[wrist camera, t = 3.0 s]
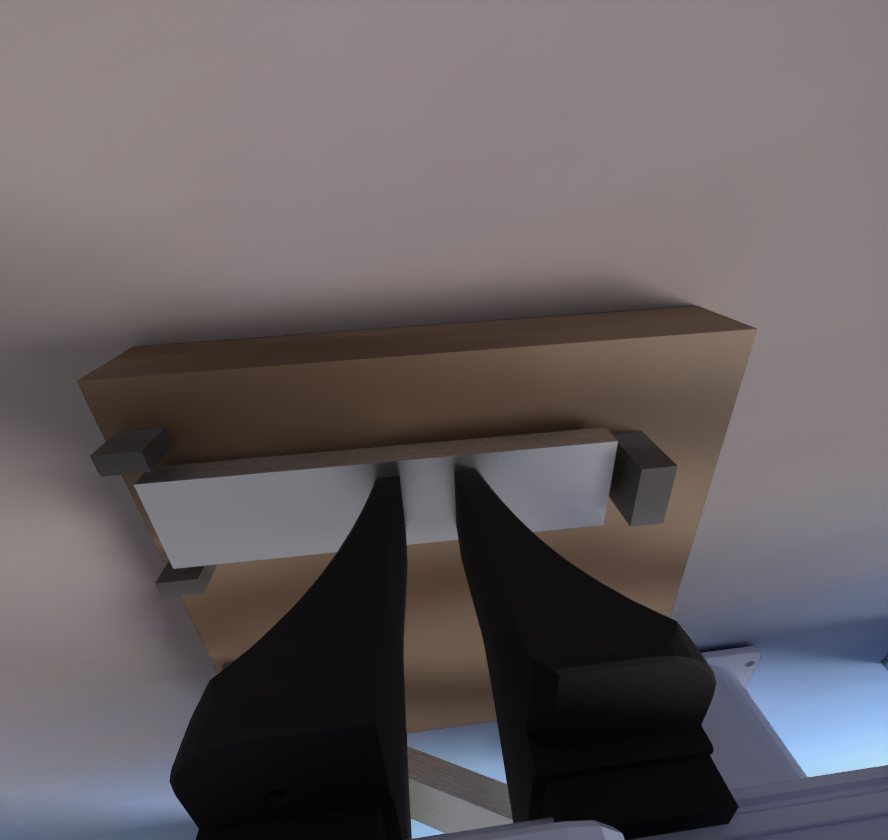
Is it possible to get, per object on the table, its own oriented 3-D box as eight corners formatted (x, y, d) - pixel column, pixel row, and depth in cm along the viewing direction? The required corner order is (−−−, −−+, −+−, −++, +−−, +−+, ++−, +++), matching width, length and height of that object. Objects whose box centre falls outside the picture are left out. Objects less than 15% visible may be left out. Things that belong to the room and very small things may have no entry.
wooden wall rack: (618, 647, 23) (666, 745, 19) (271, 692, 22) (242, 807, 18) (697, 305, 14) (815, 351, 10) (133, 346, 13) (20, 416, 9)
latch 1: (593, 508, 14) (603, 525, 13) (185, 548, 13) (173, 568, 13) (605, 427, 13) (617, 441, 12) (149, 467, 12) (133, 484, 11)
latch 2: (587, 860, 14) (585, 894, 13) (263, 727, 18) (250, 748, 17) (598, 819, 13) (597, 854, 12) (244, 684, 17) (229, 705, 16)
